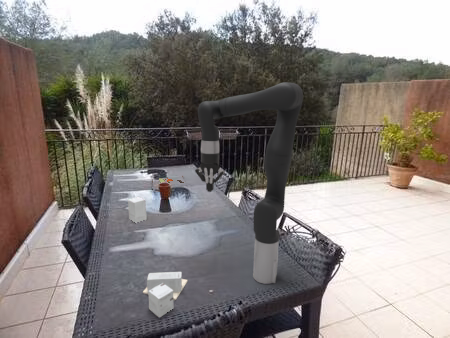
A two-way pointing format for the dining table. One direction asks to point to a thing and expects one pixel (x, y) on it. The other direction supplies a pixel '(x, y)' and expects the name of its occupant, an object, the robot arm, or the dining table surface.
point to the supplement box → (137, 209)
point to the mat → (175, 294)
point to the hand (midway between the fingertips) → (209, 191)
